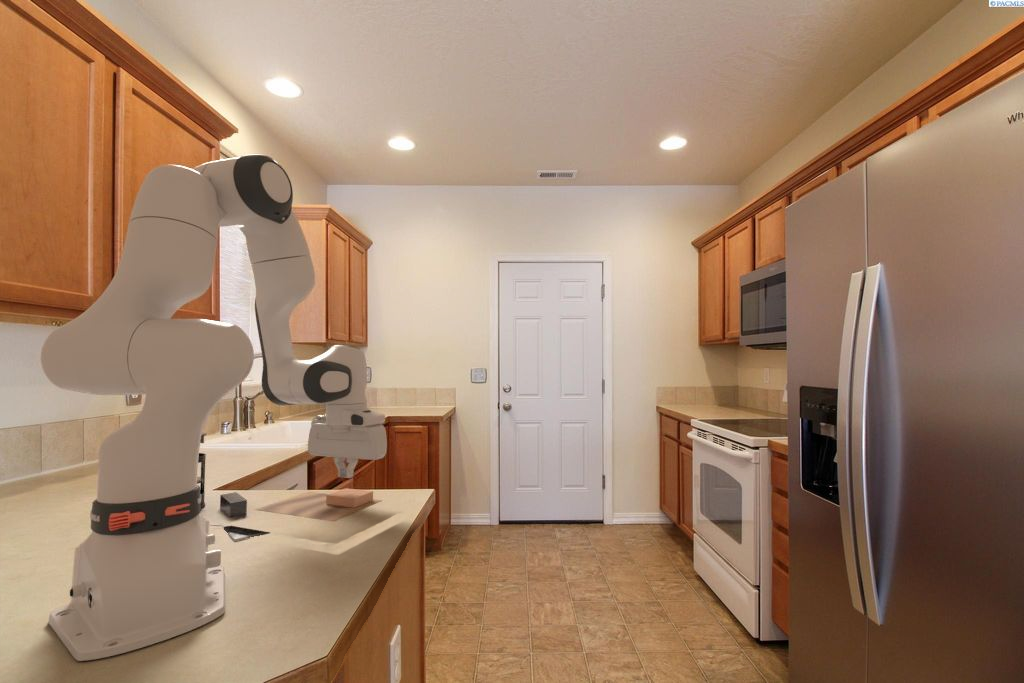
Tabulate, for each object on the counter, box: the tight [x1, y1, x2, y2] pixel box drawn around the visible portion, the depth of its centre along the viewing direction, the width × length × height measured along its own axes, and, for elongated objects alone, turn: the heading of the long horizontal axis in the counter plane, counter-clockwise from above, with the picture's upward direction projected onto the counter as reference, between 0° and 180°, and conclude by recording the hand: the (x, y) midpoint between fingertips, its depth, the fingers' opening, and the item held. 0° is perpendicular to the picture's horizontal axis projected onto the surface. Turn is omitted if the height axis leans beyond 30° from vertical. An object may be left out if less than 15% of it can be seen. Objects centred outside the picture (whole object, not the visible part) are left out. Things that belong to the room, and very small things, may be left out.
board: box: [254, 491, 383, 522], centre depth 100 cm, size 22×15×2 cm
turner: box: [219, 491, 271, 542], centre depth 92 cm, size 20×6×4 cm, turn 44°
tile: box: [326, 487, 374, 508], centre depth 101 cm, size 2×6×8 cm
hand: (345, 477), depth 102 cm, fingers closed
